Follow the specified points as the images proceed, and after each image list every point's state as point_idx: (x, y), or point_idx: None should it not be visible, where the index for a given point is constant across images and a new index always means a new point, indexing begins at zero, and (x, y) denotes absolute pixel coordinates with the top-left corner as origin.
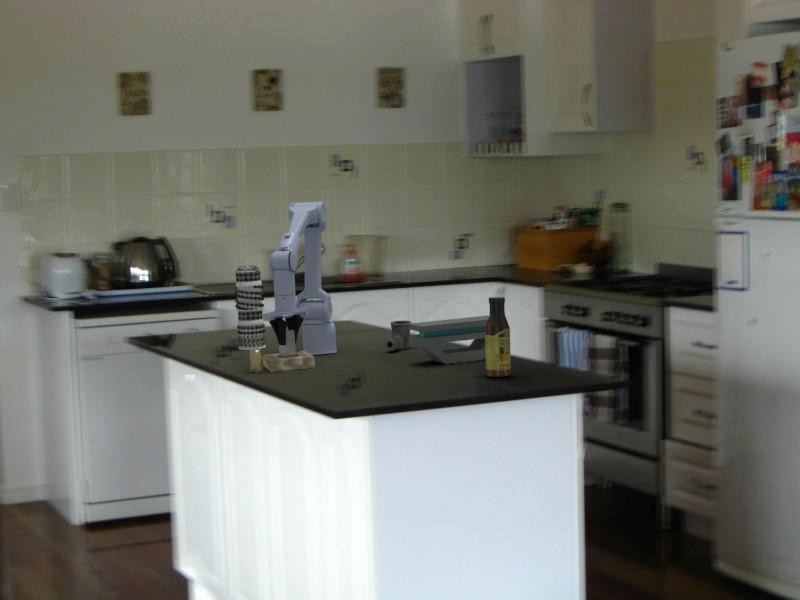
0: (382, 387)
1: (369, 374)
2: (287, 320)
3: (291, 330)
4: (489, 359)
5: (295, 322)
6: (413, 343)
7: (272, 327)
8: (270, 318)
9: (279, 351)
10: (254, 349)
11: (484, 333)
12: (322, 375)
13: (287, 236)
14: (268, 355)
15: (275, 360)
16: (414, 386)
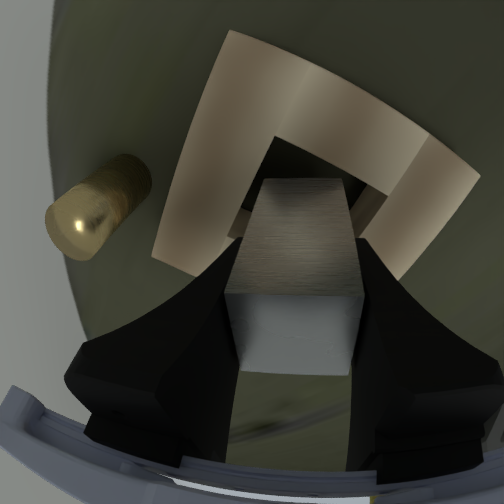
0: (246, 455)
1: (325, 424)
2: (381, 397)
3: (312, 373)
4: (370, 496)
5: (352, 440)
6: (485, 440)
7: (136, 321)
8: (62, 436)
9: (260, 194)
10: (66, 217)
11: None
12: (254, 380)
13: None
14: (235, 92)
15: (173, 265)
16: (278, 467)
